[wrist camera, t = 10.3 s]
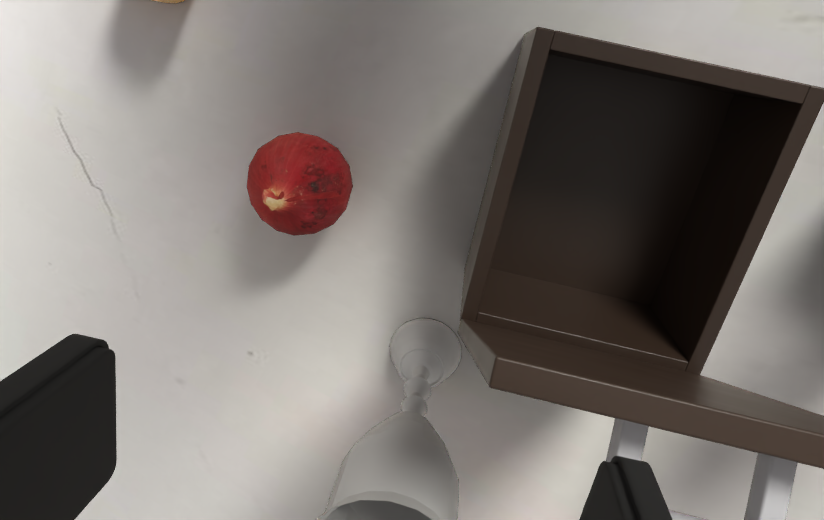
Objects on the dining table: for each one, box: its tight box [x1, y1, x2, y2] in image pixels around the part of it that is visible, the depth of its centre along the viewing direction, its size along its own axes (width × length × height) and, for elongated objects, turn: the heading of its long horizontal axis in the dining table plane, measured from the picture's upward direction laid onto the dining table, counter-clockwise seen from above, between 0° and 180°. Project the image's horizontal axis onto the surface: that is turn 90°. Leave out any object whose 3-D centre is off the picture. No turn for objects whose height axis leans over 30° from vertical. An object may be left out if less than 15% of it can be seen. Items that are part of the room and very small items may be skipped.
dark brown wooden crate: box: [460, 27, 824, 375], centre depth 30 cm, size 15×13×8 cm
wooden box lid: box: [458, 319, 824, 520], centre depth 21 cm, size 15×13×5 cm
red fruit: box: [247, 132, 353, 235], centre depth 32 cm, size 6×6×8 cm
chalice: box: [316, 319, 461, 520], centre depth 31 cm, size 7×7×18 cm
